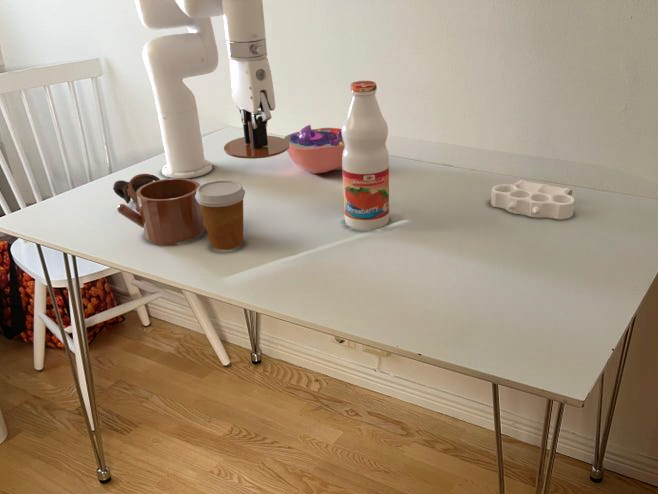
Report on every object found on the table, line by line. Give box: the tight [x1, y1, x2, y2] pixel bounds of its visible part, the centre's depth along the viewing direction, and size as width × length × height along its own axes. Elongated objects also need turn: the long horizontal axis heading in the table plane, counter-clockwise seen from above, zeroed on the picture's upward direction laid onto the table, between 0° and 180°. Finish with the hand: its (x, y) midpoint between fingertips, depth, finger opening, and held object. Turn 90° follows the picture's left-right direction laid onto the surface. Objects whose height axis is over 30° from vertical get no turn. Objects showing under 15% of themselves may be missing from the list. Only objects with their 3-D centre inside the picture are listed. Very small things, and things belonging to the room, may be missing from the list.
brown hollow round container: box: [136, 177, 207, 246], centre depth 145 cm, size 13×13×10 cm
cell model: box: [282, 124, 345, 175], centre depth 173 cm, size 17×20×11 cm
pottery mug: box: [112, 173, 161, 213], centre depth 159 cm, size 12×10×8 cm
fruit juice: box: [341, 80, 390, 231], centre depth 141 cm, size 9×9×28 cm
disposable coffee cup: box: [195, 179, 246, 251], centre depth 138 cm, size 10×10×12 cm
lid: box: [223, 119, 289, 160], centre depth 144 cm, size 13×13×6 cm
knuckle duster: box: [490, 179, 576, 221], centre depth 152 cm, size 3×18×15 cm
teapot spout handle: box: [116, 203, 144, 229], centre depth 145 cm, size 21×2×6 cm, turn 105°
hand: (256, 143), depth 145 cm, fingers closed on lid, 2 cm apart
